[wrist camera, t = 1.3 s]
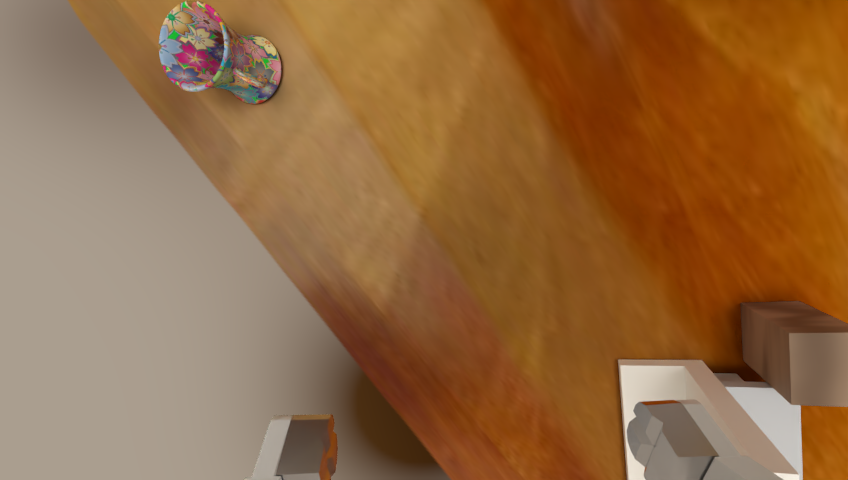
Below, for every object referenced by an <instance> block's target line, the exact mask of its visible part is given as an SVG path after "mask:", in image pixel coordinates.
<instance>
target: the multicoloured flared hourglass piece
mask: <svg viewBox="0 0 848 480" xmlns="http://www.w3.org/2000/svg"><path fill="white" fill-rule="evenodd" d="M159 54H160V60H161V63H162V66H163V69H164V71H165V73H166V74H167V76H168V77H169V79H170V80H171V81H172V82H173V83H174V84H175V85H177V86H178V87H179V88H181V89H183V90H186V91H191V92H198V91H203V90H206V89H210V88H221V89H226V90H229V91H231V92H232V93H233V94H234V95H235V96H236V97H237V98H238V99H240V100H241V101H243V102H246V103H249V104H257V103H261V102H264V101H266V100H267V99H269V98H270V97H271V96H272V95H273V94H274V92H275V91H276V89H277V87H278V85H279V82H280V78H281V61H280V57H279V54H278V52H277V50H276V49H275V47H274V46H273V45H272V43H271V42H269V41H268V40H267V39H265V38H264V37H261V36H257V35H249V36H243V35H241V34H238V33H237V32H235V31H233V30H232V29H231V28H230V27H229V26H228V25H227V24H226V23H225V22H224V21H223V20H222V18H221V17H220V16H219V14H218V13H217V12H216V11H215V10H214V9H213V8H212V7H211V6H209V5H207V4H206V3H203V2H200V1H186V2H183V3H181V4H179V5H177V6H176V7H175V8H174V9H173V10H172V11H171V12H170V13H169V14H168V16H167V17H166V19H165V21H164V23H163V25H162V28H161V32H160V37H159Z"/></svg>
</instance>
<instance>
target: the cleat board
mask: <svg viewBox="0 0 848 480" xmlns="http://www.w3.org/2000/svg"><path fill="white" fill-rule="evenodd" d="M618 367H619V380H620V393H621V407H622V420H623V434H624V447H625V461H626V474H627V480H646V479H645V478H644V470H645V467H644V466H643V465H642V464H641V463H639V462H638V461H637V460H636V459H635V458H634V456H633V454H632V452H631V450H630V447H629V444H628V440H627V428H628V424H629V422H630V421H631V420H632V419H634V418H635V417H636V415H635V413H634V412H633V410H634V407H635V405H636V404H637V403H638V402H643V401H662V400H697V401H698V402H700V403H701V404H702V405H703V407H704V408H705V409H706V411H707V412H708V413H709V414H710V416H711V417H712V418H713V420H714V421H715V422H716V424H717V425H718V426H719V427H720V429H721V430H722V431H723V433H724V434H725V435H726V437H727V438H728V439H729V440H730V442H731V443H732V444H733V446H734V447H735V448H736V450H737V451H738V452H739V453H740V455H741V456H748V457H750V458H751V459H753V460H754V461H756V462H757V463H759V464H761V465H762V466H764V467H765V468H767V469H768V470H770V471H771V472H773V473H774V474H776V475H777V476H779V477H780V478H782V479H784V480H803V471H802V439H801V407H800V405H791V404H790V403H789V402H788V401H787V400H786V399H784V398H783V397H782V396H781V395H780V394H779V393H778V392H777V391H776V390H775V389H774V388H773V387H771V386H770V385H769V384H768V383H767V382H744V381H743V380H742V379H741V378H740V377H739V375H738V374H737V373H712V371H711V370H710V369H709V368H708V367H707V365H706V364H705V363H704V362H703V361H702V360H632V359H618Z"/></svg>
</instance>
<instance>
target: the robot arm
mask: <svg viewBox="0 0 848 480" xmlns="http://www.w3.org/2000/svg"><path fill="white" fill-rule="evenodd" d="M633 412H634V413H635V415H636V417H635V418H634V419H632V420H631V421H630V422H629V424H628V428H627V440H628V444H629V447H630V450H631V452H632V454H633V456H634V458H635V459H636V460H637V461H638V462H639V463H641V464H642V465H643V466H644V467H645V470H644V478H645V479H646V480H784V479H782V478H780V477H779V476H777V475H776V474H774V473H773V472H771V471H770V470H768V469H767V468H765V467H764V466H762V465H761V464H759V463H757V462H756V461H754V460H753V459H751V458H750V457H748V456H741V455H740V453H739V452H738V451H737V450H736V448H735V447H734V446H733V444H732V443H731V442H730V440H729V439H728V438H727V437H726V435H725V434H724V433H723V431H722V430H721V429H720V427H719V426H718V425H717V424H716V422H715V421H714V420H713V418H712V417H711V416H710V414H709V413H708V412H707V411H706V409H705V408H704V407H703V405H702V404H701V403H700V402H698V401H697V400H662V401H643V402H638V403H637V404H636V405H635V407H634V410H633ZM333 428H334V419H333V415H278V416H274V417H273V418H272V420H271V421H270V423H269V426H268V429H267V432H266V436H265V438H264V442H263V445H262V448H261V451H260V454H259V457H258V460H257V463H256V466H255V469H254V472H253V475H252V477H246V478H245V479H244V480H331V477H332V476H333V474H334V473H335V471H336V464H337V450H338V447H337V435H336V434H335V433H334V432H333Z"/></svg>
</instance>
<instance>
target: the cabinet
mask: <svg viewBox="0 0 848 480" xmlns="http://www.w3.org/2000/svg"><path fill="white" fill-rule="evenodd" d="M741 325H742V347H743V361H744V362H745V363H747V364H748V365H749V366H750V367H751V368H752V369H753V370H754V371H755V372H756V373H757V374H758V375H760V376H761V377H762V378H763V379H764V380H765V381H766V382H767V383H768V384H769V385H770V386H771V387H773V388H774V389H775V390H776V391H777V392H778V393H779V394H780V395H781V396H782V397H783V398H784V399H786V400H787V401H788V402H789V403H790V404H791V405H808V406H838V407H848V324H847V323H845V322H843V321H841V320H839V319H836V318H834V317H832V316H830V315H828V314H826V313H824V312H822V311H819V310H817V309H815V308H813V307H811V306H809V305H807V304H805V303H802V302H800V301H784V302H750V303H741Z"/></svg>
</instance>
